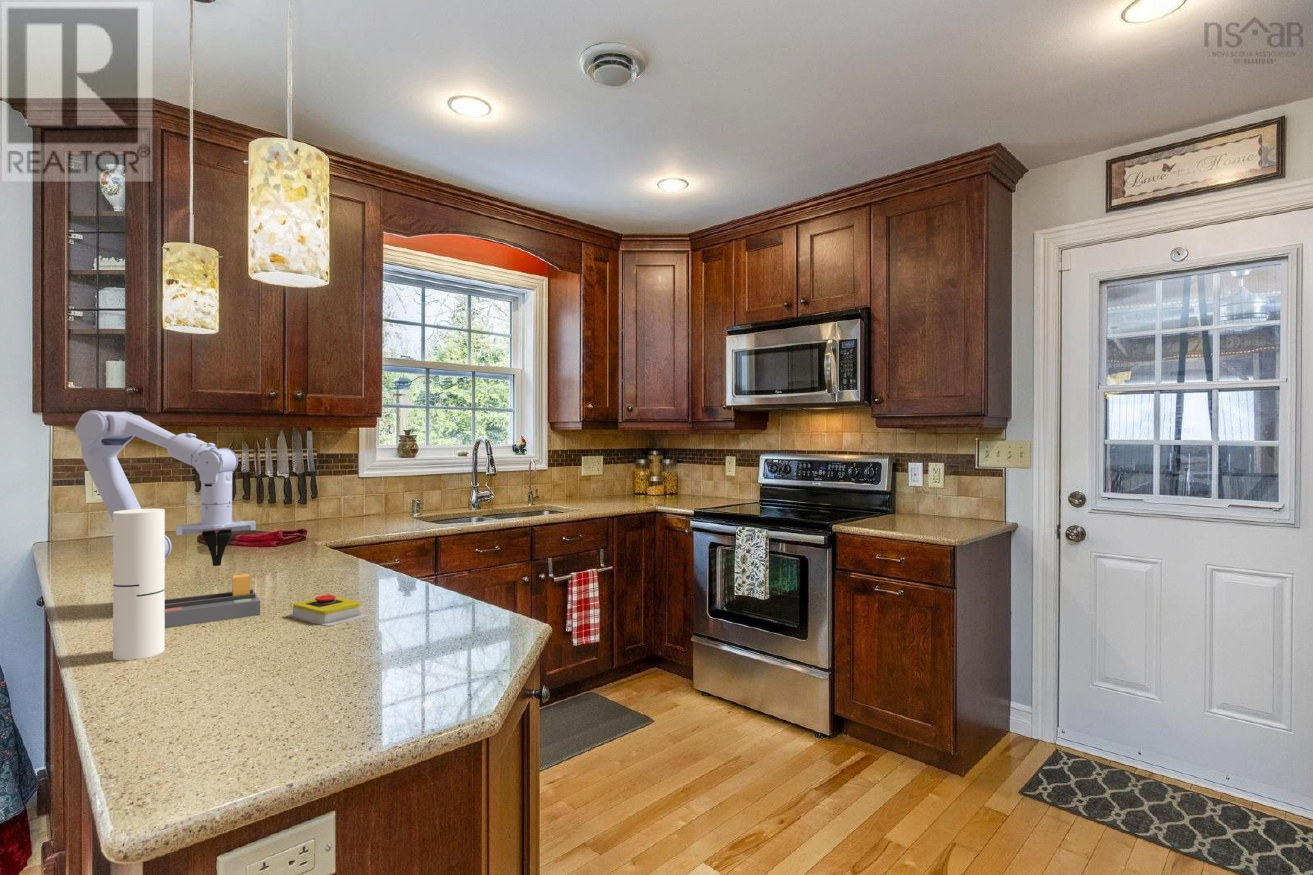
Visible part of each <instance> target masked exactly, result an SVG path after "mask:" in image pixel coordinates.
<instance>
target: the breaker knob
mask: <svg viewBox="0 0 1313 875" xmlns="http://www.w3.org/2000/svg"><path fill="white" fill-rule="evenodd" d="M249 574H250V573H243V574H242V573H241V574H233V575H231V577H232V578H231V585H232V586H231V592H232V596H238V595H247V594H250V590H251V586H250V585H251V582H250V581H251V580H250V579H251V576H250V575H249Z"/></svg>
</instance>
